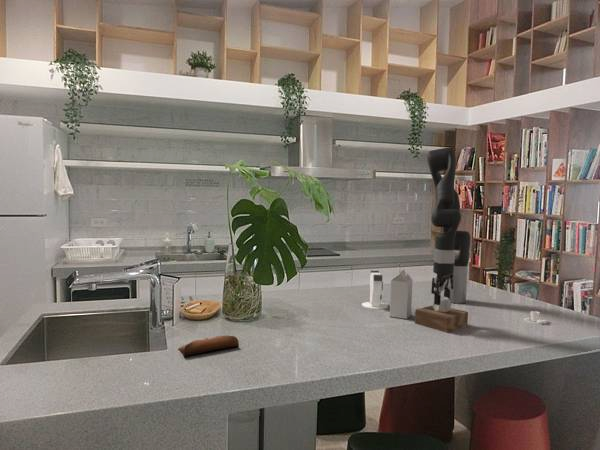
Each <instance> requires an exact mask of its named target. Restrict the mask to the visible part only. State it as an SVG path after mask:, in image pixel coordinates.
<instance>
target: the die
mask: <svg viewBox="0 0 600 450" xmlns="http://www.w3.org/2000/svg"><path fill="white" fill-rule="evenodd" d="M432 305H433V308H434V310H435V311H437V312H448V311H449V310H450V308H452V303H451V302H450V300H449V298H447V297H444V296H442V295H441V301H440V305H435V304H434V299H433V300H432Z"/></svg>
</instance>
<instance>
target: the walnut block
mask: <svg viewBox="0 0 600 450" xmlns="http://www.w3.org/2000/svg"><path fill="white" fill-rule="evenodd" d="M414 314H415V315H414V324H415V325H420V326H422V327H424V328H425V327H426V328H430V329H432V330H436V331H439V332H442V333H447V334H448V333H450V332H453V331H456V330H460V329H463V328H465V327H468V320H469V311H465V310H461V309H456V308H452V307H451V308H450V310H449V311H448V312H437V311H435V310H434V308H433V304H432V305H428V306H425V307H421V308H417V309H415V312H414Z"/></svg>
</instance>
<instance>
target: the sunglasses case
mask: <svg viewBox="0 0 600 450" xmlns="http://www.w3.org/2000/svg"><path fill="white" fill-rule="evenodd" d="M233 347H234V348H235V347H236V348H239V347H240V345H239V339H238V338H237V337H236V336H234V335H218V336H213V337H207V338H206V337H205V338H203V339H195V340H192V341H191V342H189V343H187V344H185V345H182V346H180V347H178V348H177V351H178V350H179V351H180V352H181V353H182V354H183V355H182V354H181V353H180V352H179V351H178V352H179V353H180V354H181V355H182V356H183V358H186V357H190V356H194V355H198V354H202V353H205V352H212V351H217V350H223V349H228V348H233Z"/></svg>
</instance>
